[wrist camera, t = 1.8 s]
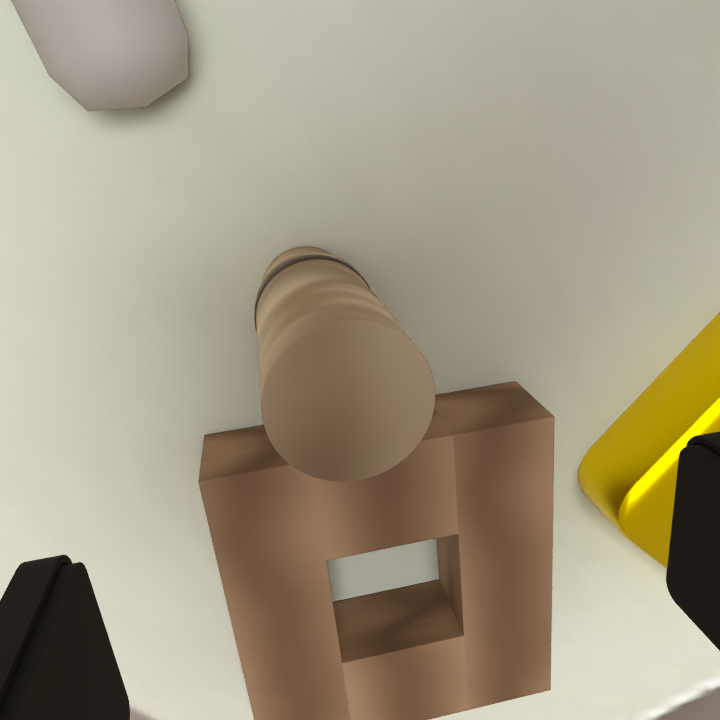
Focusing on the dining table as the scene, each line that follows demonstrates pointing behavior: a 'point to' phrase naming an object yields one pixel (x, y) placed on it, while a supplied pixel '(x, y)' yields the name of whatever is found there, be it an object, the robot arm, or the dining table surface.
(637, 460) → the element tile
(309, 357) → the peg
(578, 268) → the dining table surface
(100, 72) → the tube
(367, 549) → the board
